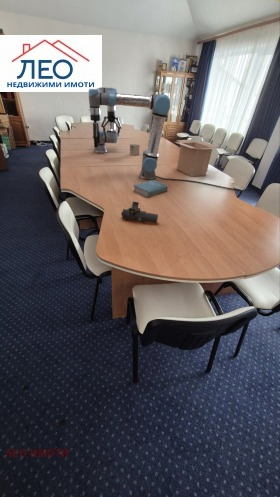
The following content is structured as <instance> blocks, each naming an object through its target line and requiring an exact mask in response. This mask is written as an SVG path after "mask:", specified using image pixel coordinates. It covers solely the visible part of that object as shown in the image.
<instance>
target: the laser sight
mask: <svg viewBox="0 0 280 497" xmlns="http://www.w3.org/2000/svg"><path fill="white" fill-rule="evenodd" d="M139 204H140V203H139V201H132V204H131V207H128V208H127V209H126V208H124V209H122V211H121V214H120V215H121V218H122V219H125V220H126V221H131V222H140V223H151V224H158V218H159V214H157V213H150V212H147V211H144V210H141V208H139Z"/></svg>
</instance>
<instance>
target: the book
mask: <svg viewBox="0 0 280 497" xmlns="http://www.w3.org/2000/svg"><path fill="white" fill-rule="evenodd" d="M168 187H169V186H168V184H166V183H164V182H160V181H159V180H156V179H153V180H146V181H143V182H140V183H137V184H134V185H133V193H135V194H138V195H140V196H142V197H145V198H150V197H153V196H156V195H159V194H161V193H164V192H167V191H168Z"/></svg>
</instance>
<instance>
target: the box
mask: <svg viewBox="0 0 280 497" xmlns="http://www.w3.org/2000/svg"><path fill="white" fill-rule="evenodd" d="M174 143H175V144H178V145H179V151H178V152H179V153H178V158H177V165H176V169H177V170H178V171H179V172H182V173H184V174H186V175H188V176H190V177H199V176H206V175H207V172H208V168H209V164H210V160H211V156H212V151H213V149H218V148H219V145H215V144H212V143H209V142H207V141H203V140H201V141H193V140H191V139H176V140H175V141H174Z"/></svg>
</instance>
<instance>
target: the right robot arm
mask: <svg viewBox="0 0 280 497" xmlns="http://www.w3.org/2000/svg"><path fill="white" fill-rule="evenodd" d="M88 104H89V109H88V111H89V114H90V115H89V117H90V121H91V122H92V121H93V123H92V139H93V145H94V146H93V147H94V148H95V147H98V143H99V144H100V135H99V134H100V121H101V120H102V118H101V117H102V116H101V106H106V107H107V106H115V107H116V106H125V107H137V108H148V109H149V110H152V112H151V115H152V117H153V118H152V124H151V128H150V133H149V138H148V143H147V149H146V150H143V151H142V159H141V160H142V161H141V169H140V172H139V178H140V179H142V180H146V181H150V180H156V178H158V179H161V180H165V181H180V182H190V183H195V184H196V183H198V184H203V185H208V186H212V187H216V188H222V189H226V190H232V191H237V192H246V191H248V192H251V189H250V188H245V189H238V188H237V189H236V188H232V187H227V186H222V185H217V184H212V183H207V182H202V181H197V180H189V179H179V178H165V177H161V176H157V174H156V169H157V167H158V159H159V154H158V151H159V146H160V142H161V138H162V133H163V129H164V125H165V121H166V119H168V116H169V113H170V112H169V111H170V110H171V106H172V101H171V99H170V97H169V96H168V95H167V94H164V93H158V94H150V95H143V94H132V93H131V94H130V93H120V92H119V93H118V92H117V93H111V92H109V93H99V90H98V89H97V88H89V89H88Z"/></svg>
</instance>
